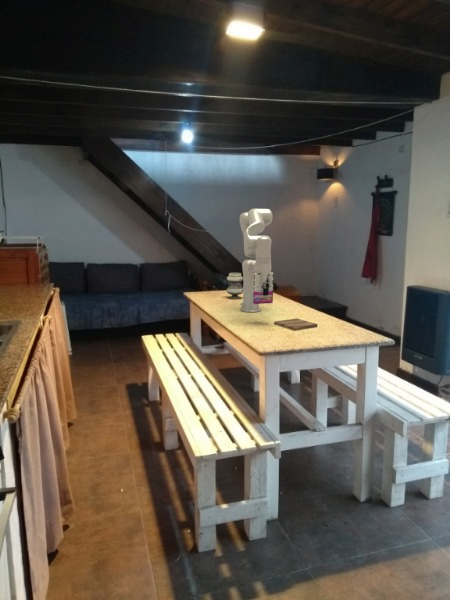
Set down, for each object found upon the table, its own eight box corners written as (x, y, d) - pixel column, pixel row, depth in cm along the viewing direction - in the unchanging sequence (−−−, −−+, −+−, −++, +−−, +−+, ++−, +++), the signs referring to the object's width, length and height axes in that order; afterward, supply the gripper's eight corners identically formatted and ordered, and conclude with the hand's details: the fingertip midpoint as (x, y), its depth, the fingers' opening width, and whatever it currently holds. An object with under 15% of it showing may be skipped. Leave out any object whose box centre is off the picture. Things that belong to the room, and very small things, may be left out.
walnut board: (274, 324, 236) (274, 321, 236) (296, 320, 245) (296, 318, 245) (294, 330, 223) (294, 327, 223) (317, 326, 232) (317, 324, 232)
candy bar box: (269, 301, 240) (270, 271, 237) (272, 303, 236) (274, 273, 232) (250, 302, 237) (251, 272, 234) (253, 304, 233) (254, 273, 229)
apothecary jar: (224, 297, 317) (224, 272, 314) (240, 296, 321) (240, 272, 317) (229, 300, 306) (229, 274, 303) (245, 299, 309) (246, 274, 306)
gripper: (247, 259, 237) (246, 292, 240) (267, 262, 223) (266, 297, 226) (258, 258, 241) (257, 290, 245) (279, 262, 227) (277, 296, 230)
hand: (261, 293), depth 235 cm, fingers closed on candy bar box, 6 cm apart
